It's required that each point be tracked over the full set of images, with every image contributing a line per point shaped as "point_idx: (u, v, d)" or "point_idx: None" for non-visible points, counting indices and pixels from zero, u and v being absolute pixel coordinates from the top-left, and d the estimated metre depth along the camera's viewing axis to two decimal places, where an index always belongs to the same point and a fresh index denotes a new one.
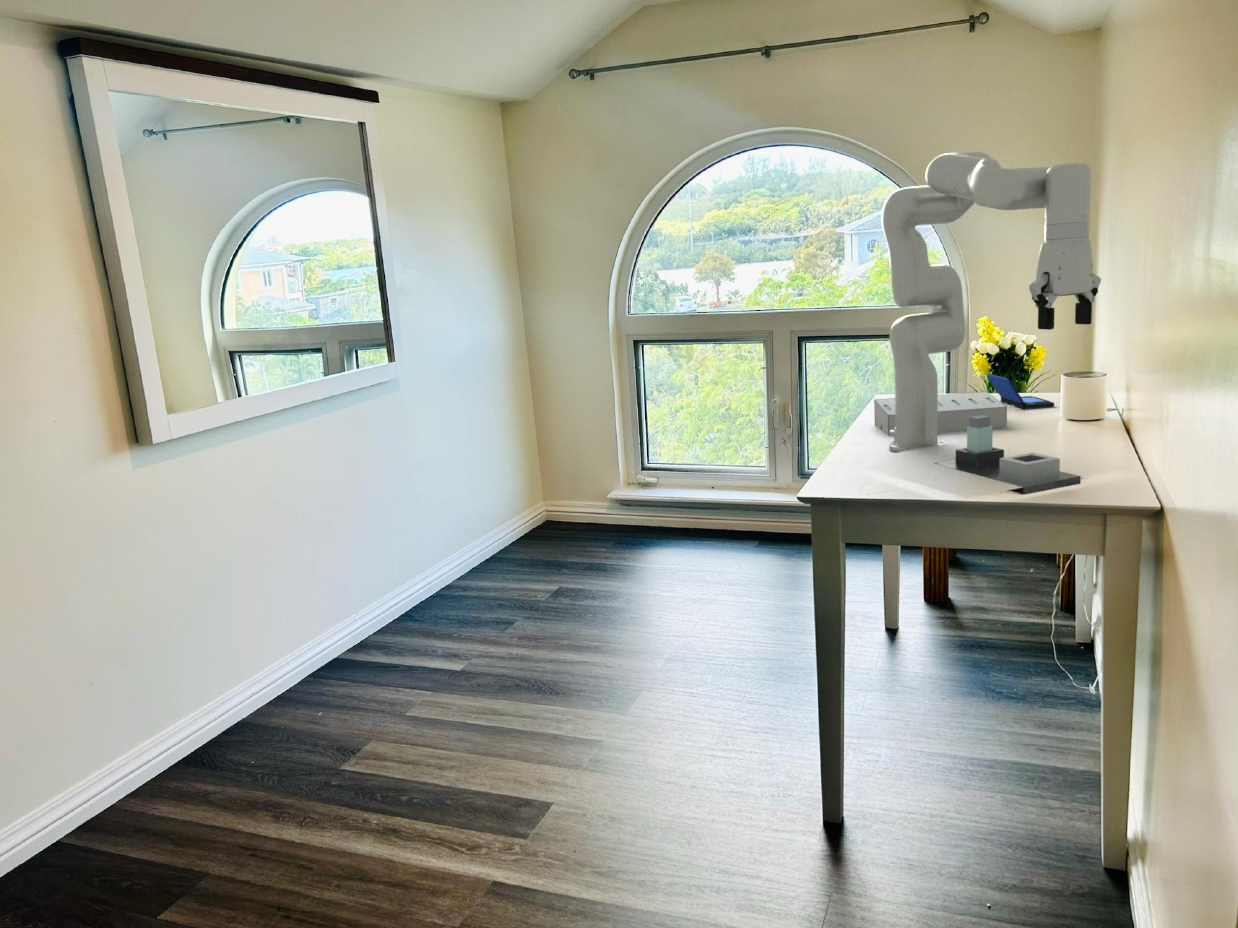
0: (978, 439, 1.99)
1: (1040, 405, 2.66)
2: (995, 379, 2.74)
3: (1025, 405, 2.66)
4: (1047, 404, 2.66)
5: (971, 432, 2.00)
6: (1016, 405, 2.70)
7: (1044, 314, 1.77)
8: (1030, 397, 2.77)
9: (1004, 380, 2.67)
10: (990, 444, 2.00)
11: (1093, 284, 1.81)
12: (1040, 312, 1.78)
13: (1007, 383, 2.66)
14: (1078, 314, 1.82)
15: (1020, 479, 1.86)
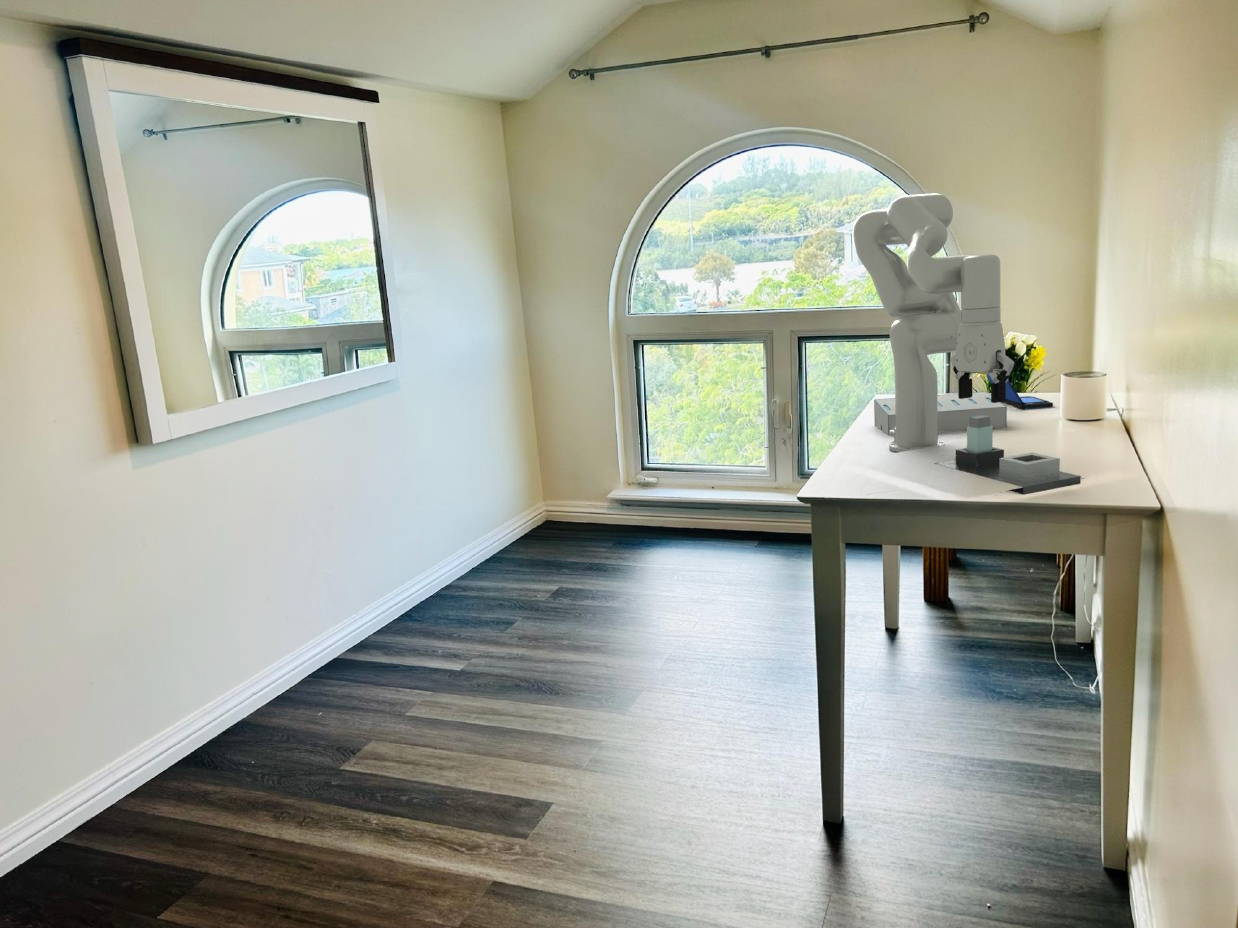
0: (978, 439, 1.99)
1: (1039, 405, 2.66)
2: None
3: (1024, 405, 2.66)
4: (1046, 404, 2.66)
5: (971, 432, 2.00)
6: (1015, 405, 2.70)
7: (1003, 388, 1.93)
8: (1029, 397, 2.77)
9: None
10: (990, 444, 2.00)
11: None
12: (1000, 387, 1.93)
13: (1006, 383, 2.66)
14: (963, 389, 2.02)
15: (1020, 479, 1.86)
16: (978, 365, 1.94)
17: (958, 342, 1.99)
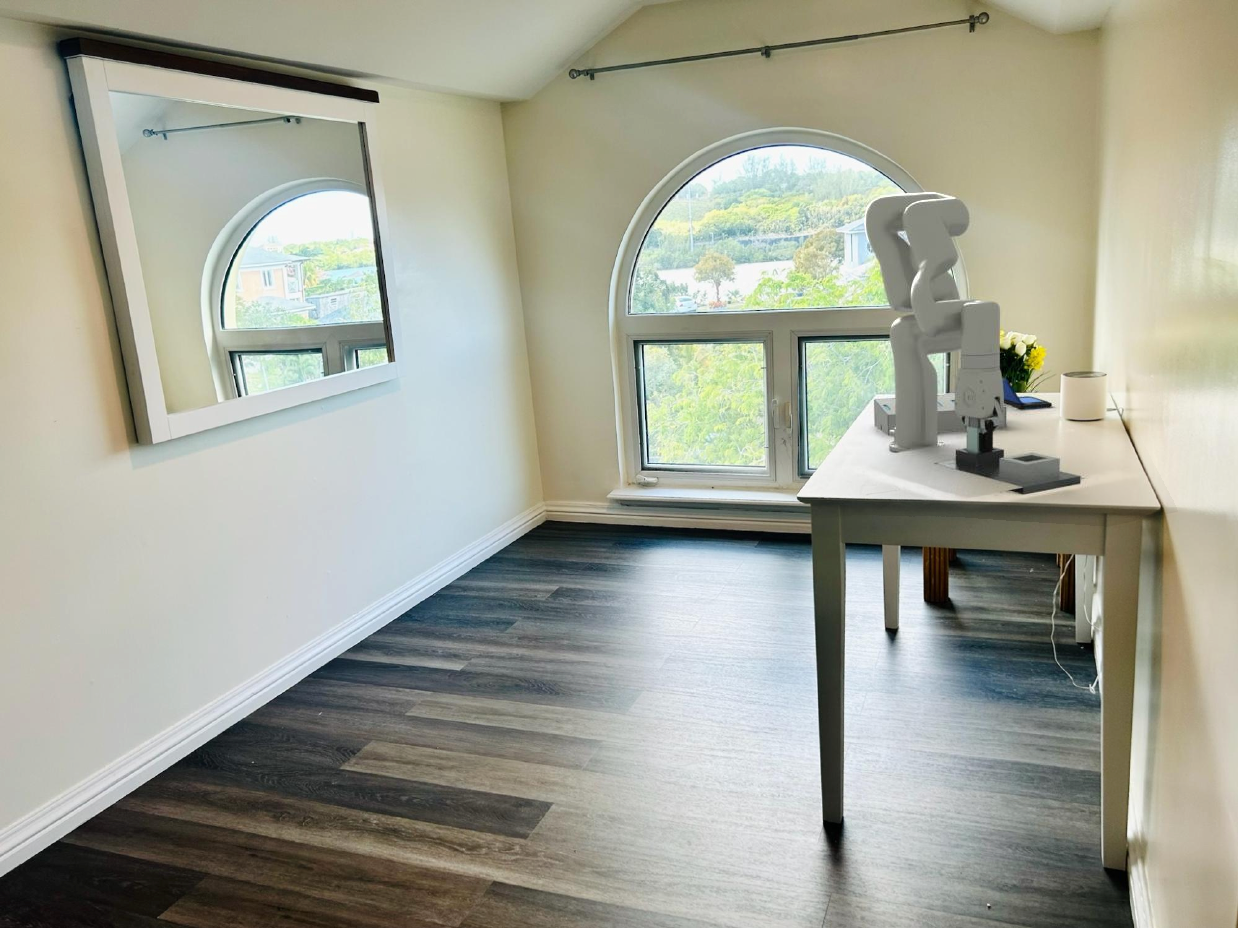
0: (978, 439, 1.99)
1: (1038, 405, 2.66)
2: None
3: (1023, 405, 2.66)
4: (1045, 404, 2.66)
5: (971, 432, 2.00)
6: (1014, 405, 2.70)
7: (991, 437, 1.98)
8: (1028, 397, 2.77)
9: (1002, 380, 2.67)
10: None
11: None
12: (987, 437, 1.98)
13: (1005, 383, 2.66)
14: None
15: (1020, 479, 1.86)
16: (977, 410, 1.96)
17: (957, 386, 2.01)
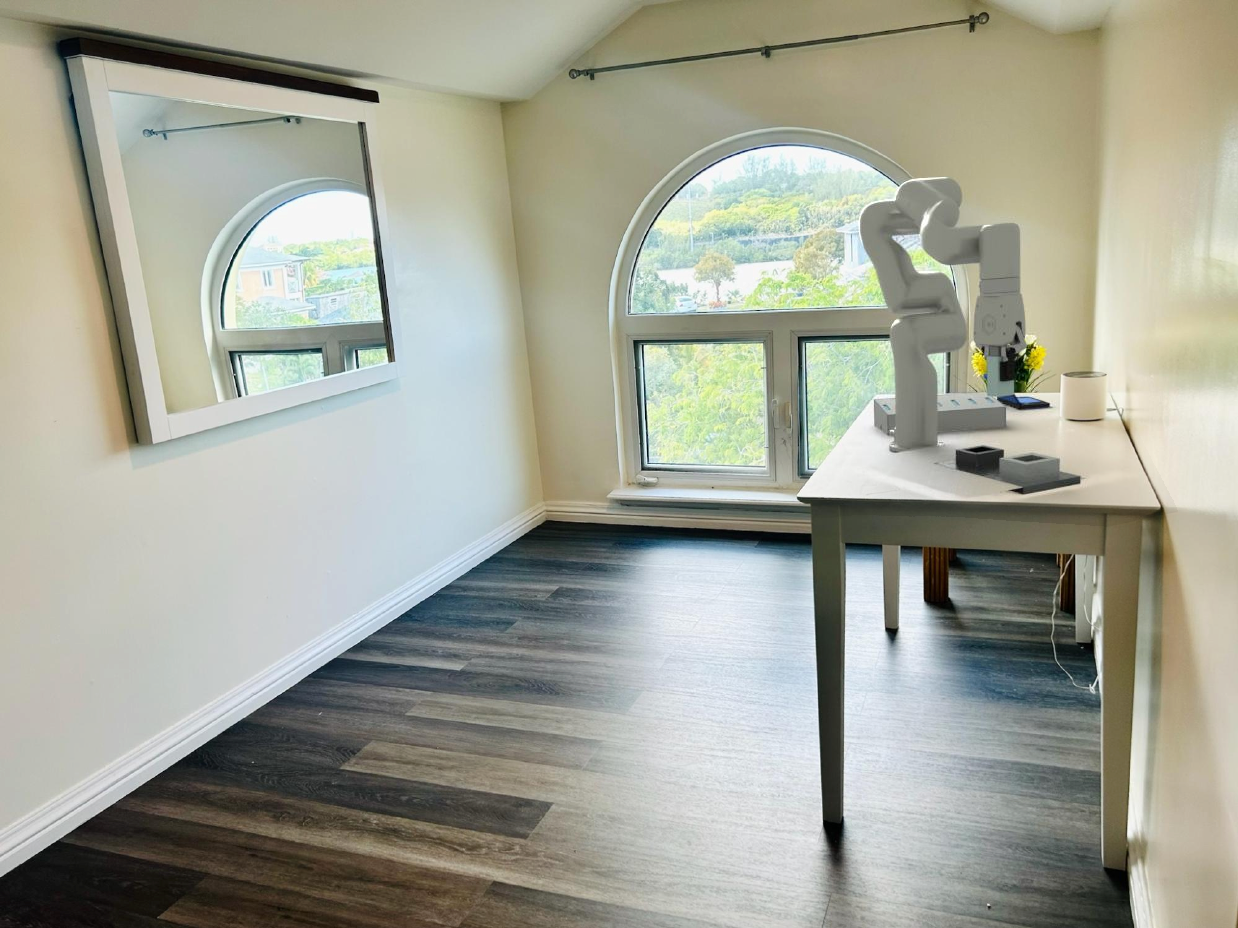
0: (999, 368, 1.90)
1: (1036, 405, 2.66)
2: None
3: (1021, 405, 2.66)
4: (1043, 404, 2.66)
5: (991, 361, 1.91)
6: (1012, 405, 2.70)
7: (1012, 366, 1.90)
8: (1026, 397, 2.77)
9: None
10: None
11: None
12: (1009, 365, 1.89)
13: None
14: None
15: (1020, 479, 1.86)
16: (997, 337, 1.88)
17: (976, 314, 1.93)
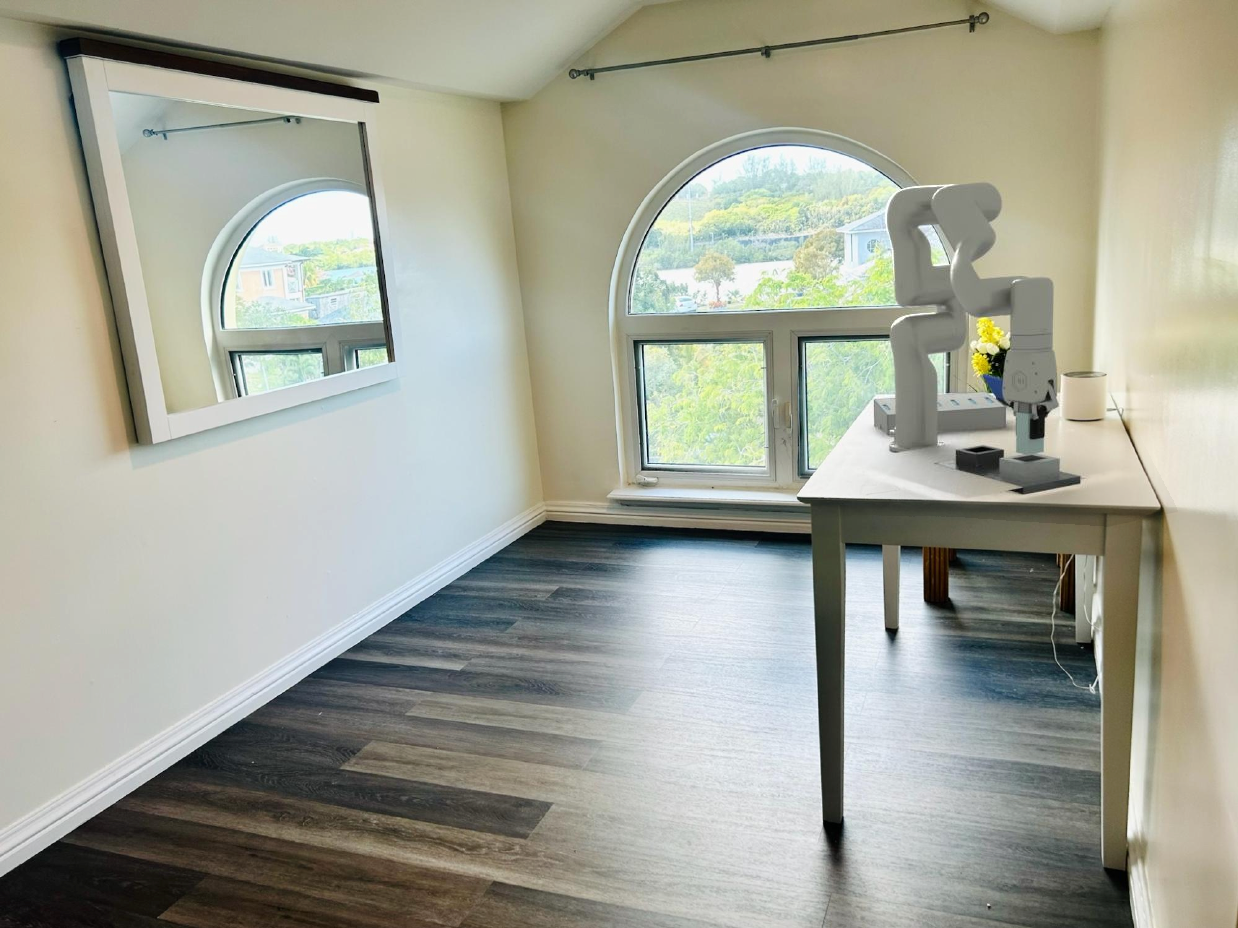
0: (1029, 426, 1.85)
1: None
2: (990, 379, 2.74)
3: None
4: None
5: (1021, 418, 1.86)
6: None
7: (1043, 424, 1.84)
8: None
9: (999, 380, 2.67)
10: None
11: None
12: (1039, 423, 1.84)
13: (1002, 383, 2.66)
14: None
15: (1020, 479, 1.86)
16: (1028, 395, 1.82)
17: (1006, 369, 1.87)
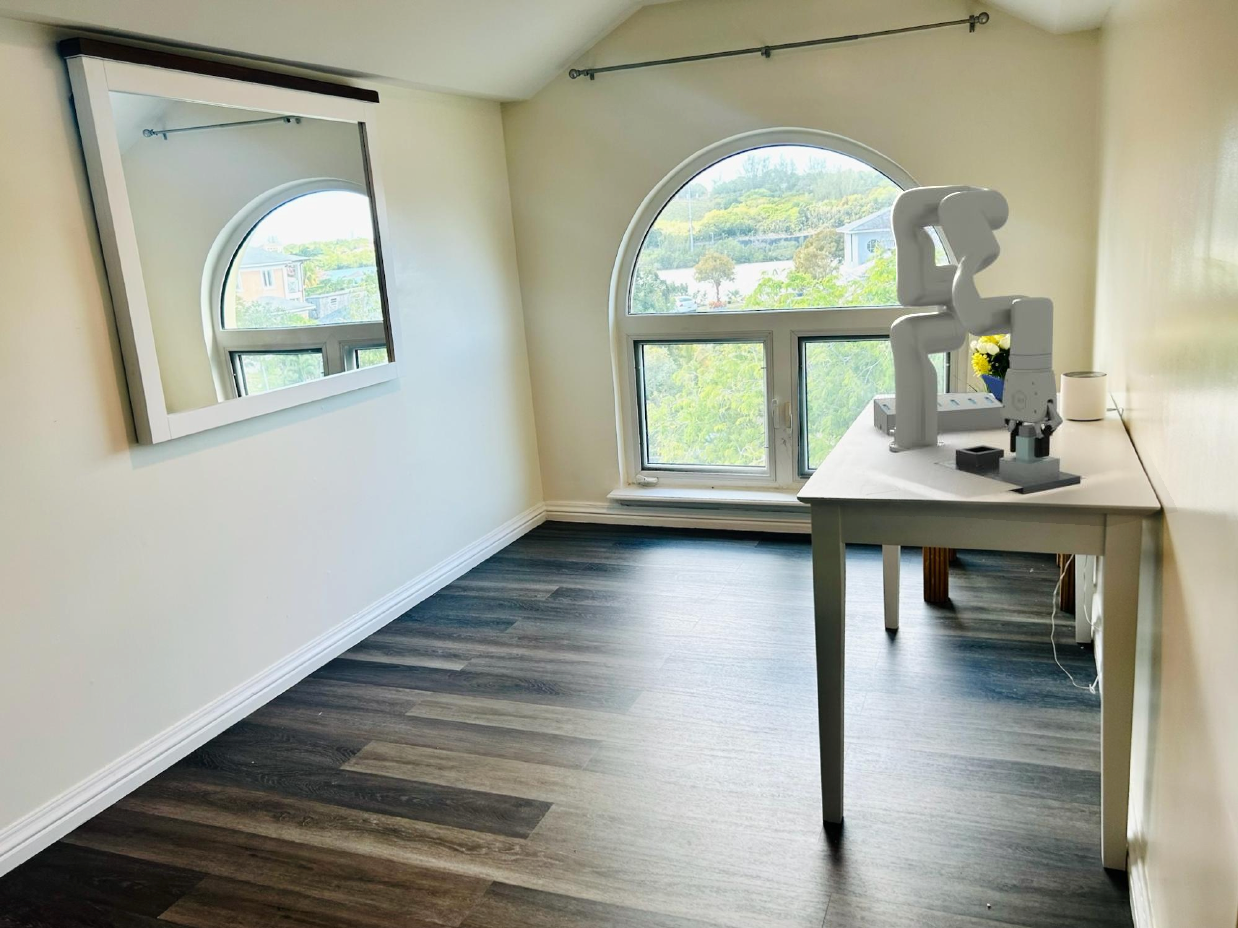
0: (1028, 450, 1.86)
1: None
2: (989, 379, 2.74)
3: None
4: None
5: (1021, 442, 1.87)
6: None
7: (1048, 442, 1.84)
8: None
9: (998, 380, 2.67)
10: None
11: None
12: (1044, 442, 1.84)
13: (1001, 383, 2.66)
14: None
15: (1020, 479, 1.86)
16: (1028, 414, 1.83)
17: (1006, 388, 1.88)
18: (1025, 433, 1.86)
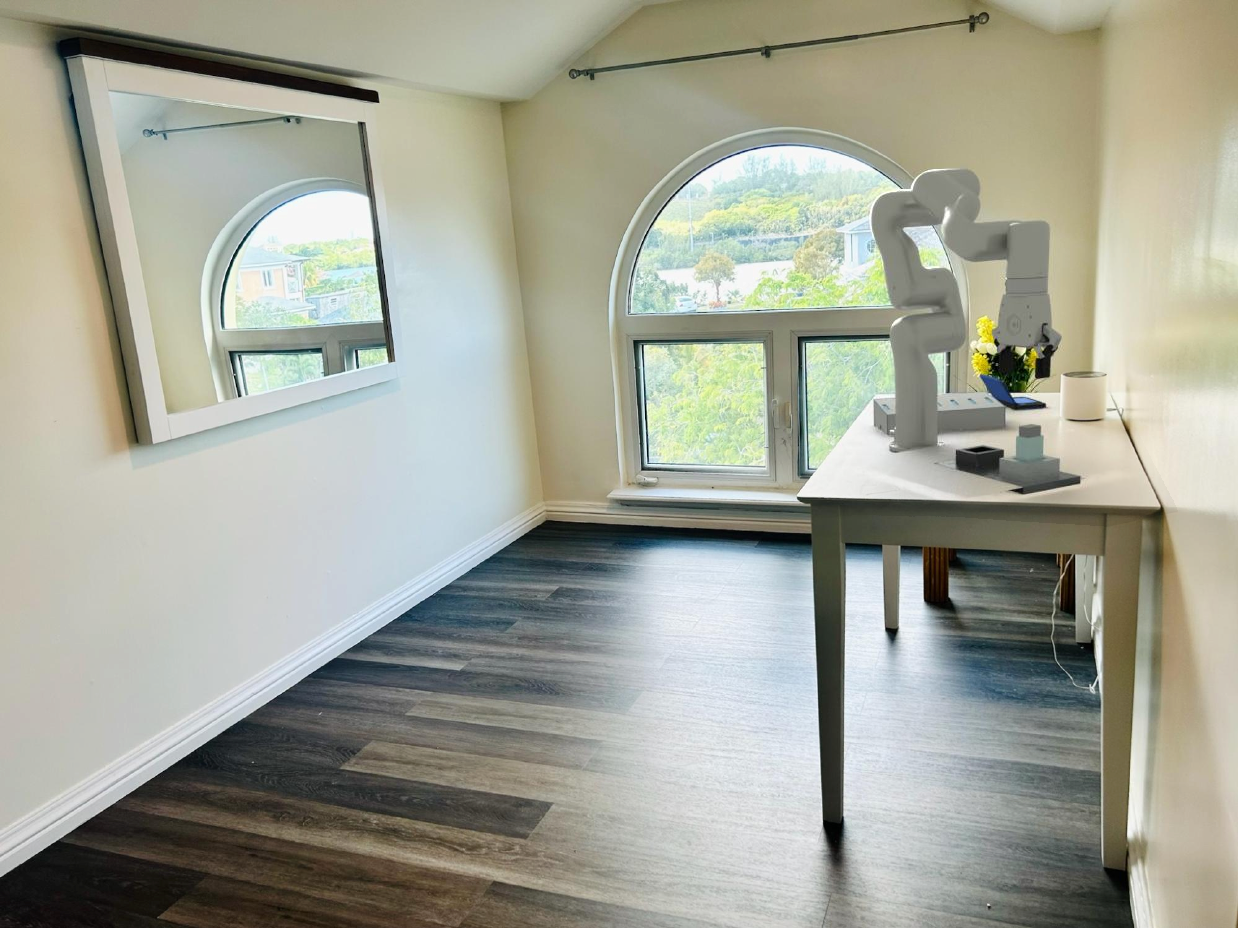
0: (1028, 450, 1.86)
1: (1032, 406, 2.66)
2: (987, 379, 2.74)
3: (1017, 406, 2.66)
4: (1039, 405, 2.66)
5: (1021, 442, 1.87)
6: (1008, 406, 2.70)
7: (1048, 363, 1.82)
8: (1022, 398, 2.77)
9: (996, 381, 2.67)
10: (1041, 455, 1.88)
11: None
12: (1045, 362, 1.82)
13: (999, 384, 2.66)
14: (1004, 363, 1.92)
15: (1020, 479, 1.86)
16: (1022, 338, 1.83)
17: (1001, 313, 1.88)
18: (1025, 433, 1.86)
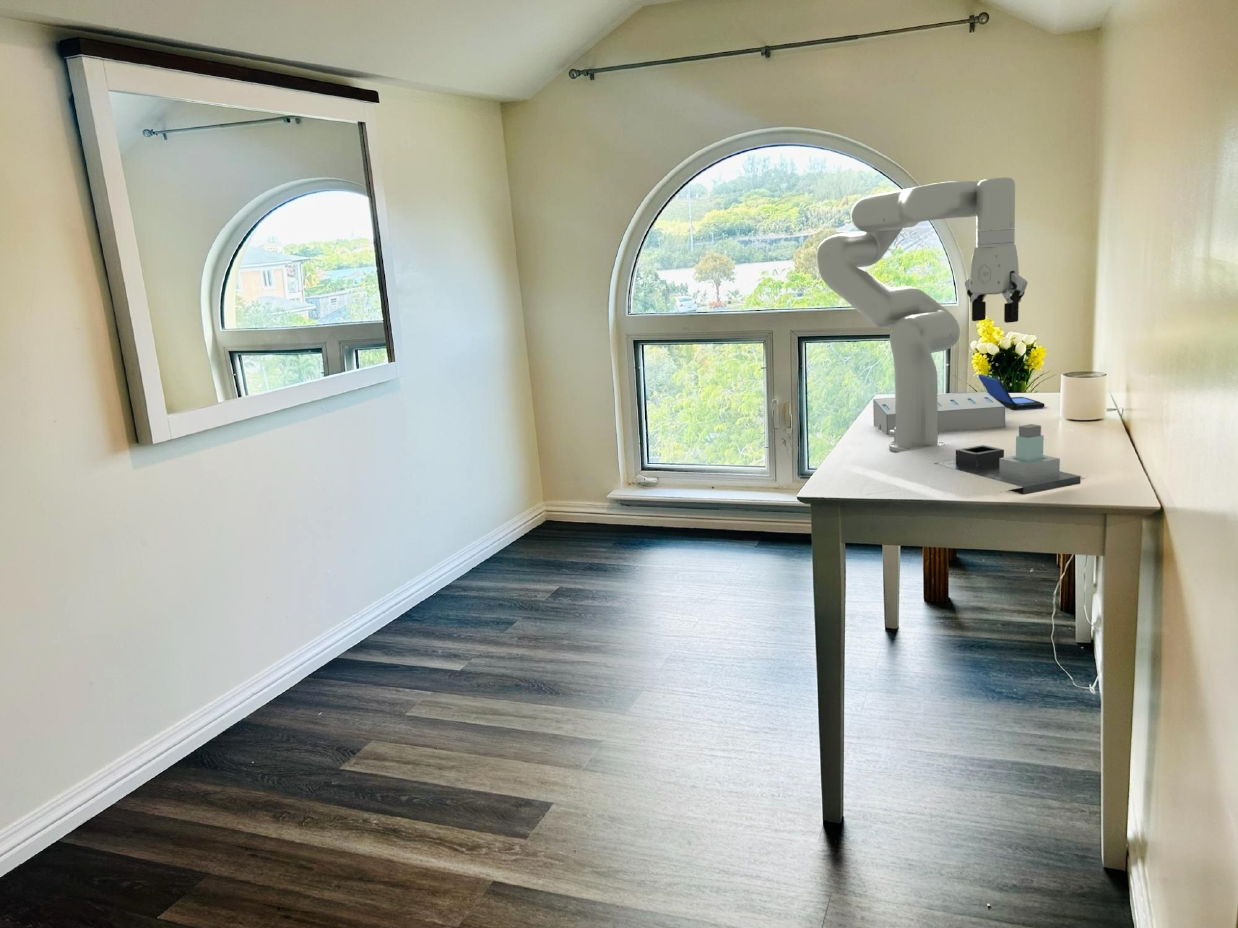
0: (1028, 450, 1.86)
1: (1030, 406, 2.66)
2: (986, 380, 2.74)
3: (1015, 406, 2.66)
4: (1037, 405, 2.66)
5: (1021, 442, 1.87)
6: (1006, 406, 2.70)
7: (1016, 308, 1.99)
8: (1021, 398, 2.77)
9: (994, 381, 2.67)
10: (1041, 455, 1.88)
11: None
12: (1013, 307, 1.98)
13: (997, 384, 2.66)
14: (977, 312, 2.08)
15: (1020, 479, 1.86)
16: (992, 286, 2.00)
17: (973, 265, 2.05)
18: (1025, 433, 1.86)
